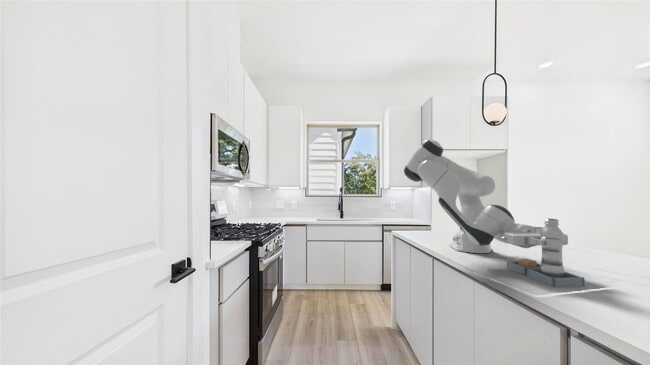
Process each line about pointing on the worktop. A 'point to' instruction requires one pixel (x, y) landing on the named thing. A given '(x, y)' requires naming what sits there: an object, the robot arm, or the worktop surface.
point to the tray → (556, 279)
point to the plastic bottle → (552, 249)
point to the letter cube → (527, 263)
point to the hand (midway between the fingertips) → (553, 242)
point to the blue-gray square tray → (520, 267)
